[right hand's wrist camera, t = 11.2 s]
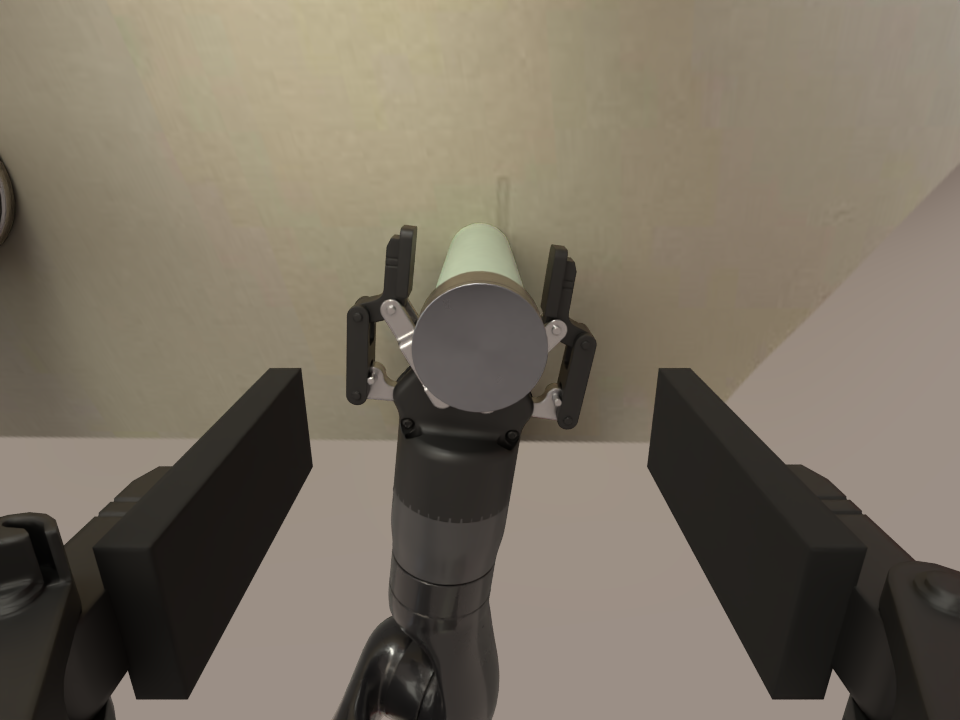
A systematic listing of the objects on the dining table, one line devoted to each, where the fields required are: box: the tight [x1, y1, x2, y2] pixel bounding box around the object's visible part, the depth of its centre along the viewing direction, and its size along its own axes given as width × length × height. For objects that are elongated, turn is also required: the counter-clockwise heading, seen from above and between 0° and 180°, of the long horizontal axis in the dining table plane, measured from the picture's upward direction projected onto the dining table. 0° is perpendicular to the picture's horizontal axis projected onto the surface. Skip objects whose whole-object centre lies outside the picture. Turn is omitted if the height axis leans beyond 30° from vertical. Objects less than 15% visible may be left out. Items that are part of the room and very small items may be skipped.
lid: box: [411, 271, 548, 412], centre depth 20 cm, size 5×5×2 cm
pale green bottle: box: [436, 223, 524, 288], centre depth 28 cm, size 4×4×19 cm
